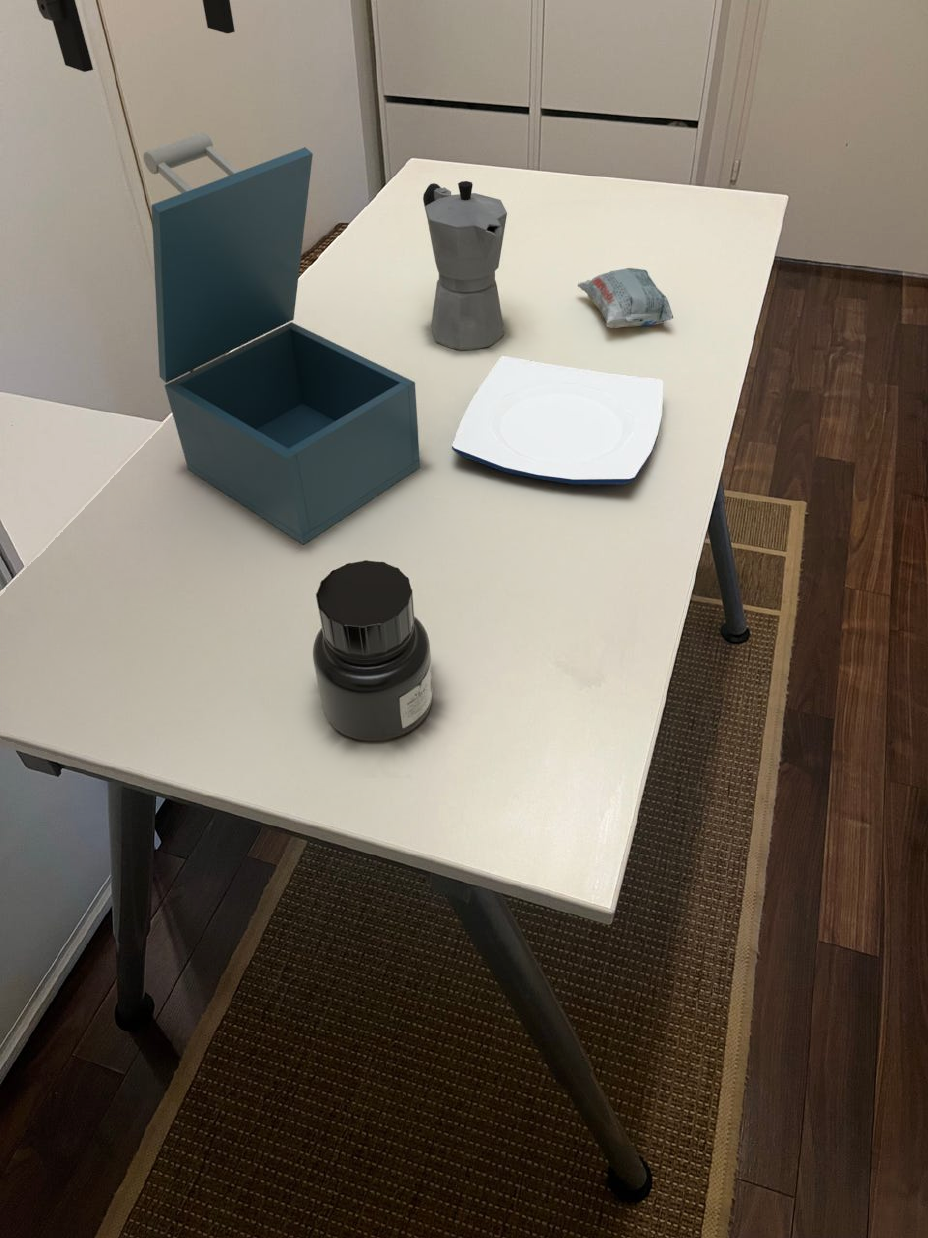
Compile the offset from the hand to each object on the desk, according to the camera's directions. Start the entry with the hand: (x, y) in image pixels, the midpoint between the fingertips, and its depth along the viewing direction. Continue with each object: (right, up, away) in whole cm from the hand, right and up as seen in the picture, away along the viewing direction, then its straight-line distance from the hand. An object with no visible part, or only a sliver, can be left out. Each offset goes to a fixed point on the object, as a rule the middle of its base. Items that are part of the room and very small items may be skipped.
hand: (153, 48), depth 74 cm
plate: (+35, -26, +25) cm, 51 cm away
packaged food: (+45, -8, +42) cm, 62 cm away
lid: (+4, -15, +10) cm, 18 cm away
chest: (+8, -30, +21) cm, 38 cm away
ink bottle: (+18, -53, 0) cm, 56 cm away
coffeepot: (+25, -10, +41) cm, 49 cm away
